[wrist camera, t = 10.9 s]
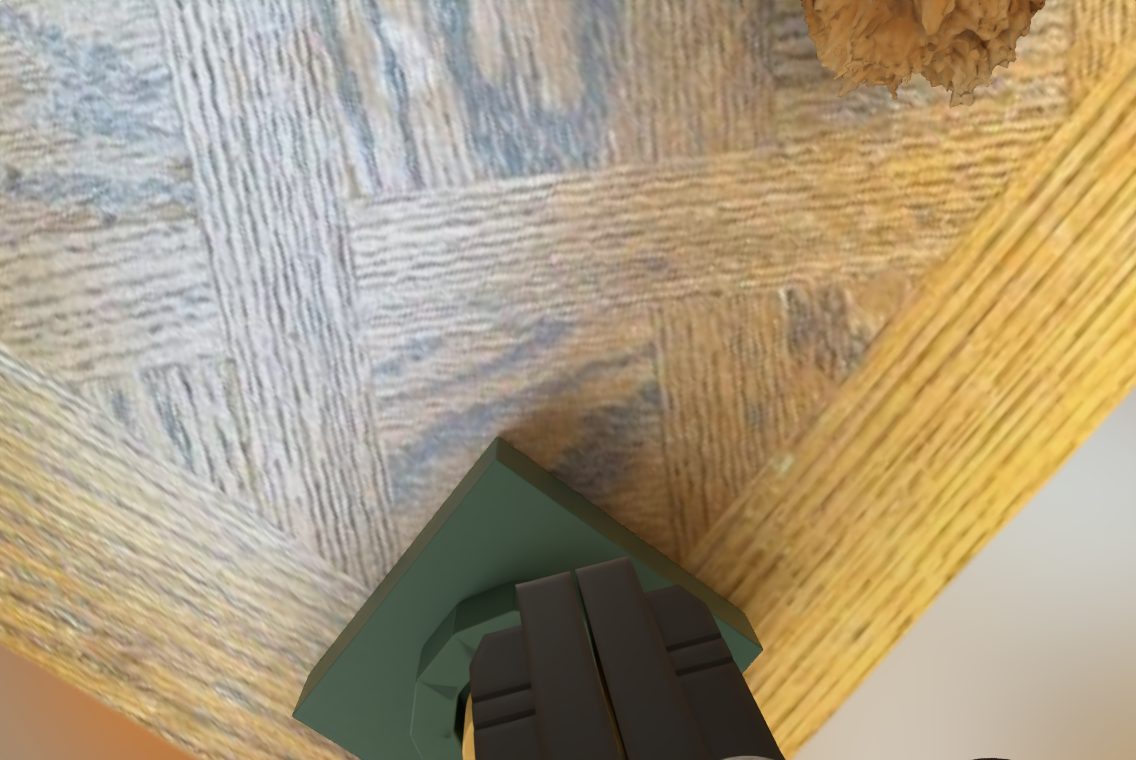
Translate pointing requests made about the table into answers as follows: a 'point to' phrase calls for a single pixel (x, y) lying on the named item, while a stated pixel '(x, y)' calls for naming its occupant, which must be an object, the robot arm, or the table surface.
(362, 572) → the table surface
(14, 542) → the table surface
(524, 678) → the robot arm
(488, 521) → the green button base
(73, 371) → the table surface
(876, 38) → the stuffed squirrel
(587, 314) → the table surface
